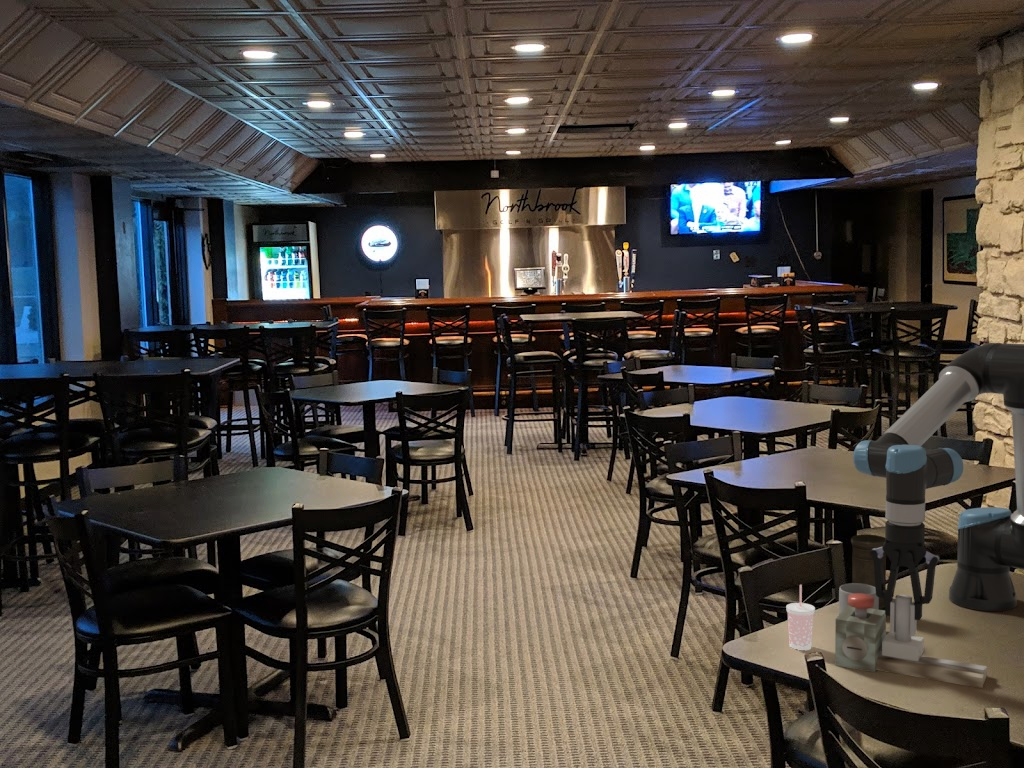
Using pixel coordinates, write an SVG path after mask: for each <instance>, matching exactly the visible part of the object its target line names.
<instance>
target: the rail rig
mask: <svg viewBox="0 0 1024 768" xmlns="http://www.w3.org/2000/svg"><path fill="white" fill-rule="evenodd" d="M886 623H887V617H886V614H885V610H878V609H871V608H868V609H867V619H866V618H860V617H855V608H854V607H851V606H849V605H847V606H846V607H845V609H844V610H843V611H842V612H841V613H840V614H839V613H838V616H837V617H835V629H834V630H835V638H834V642H835V643H834V653H835V654H834V657H835V659H834V665H835V666H837V667H843V668H849V669H855V670H860V671H865V672H872V673H876V671H881V672H882V671H883V672H886V673H892V674H893V673H894V674H897V675H903V674H904V676H909V677H916V678H921V679H928V680H933V681H938V682H944V683H948V684H949V683H951V684H957V685H960V686H961V685H962V686H967V687H974V688H977V689H978V688H979V689H983V687H984V685H985V681H986V679H987V677H988V666H987V665H981V664H975V663H969V662H962V661H957V660H951V659H944V658H938V657H933V656H926V655H921V657H920V659H919V660H918V661H913V660H907V659H901V658H895V657H889V656H883V655H882V641H883V639H884V638H885V636H886V635H887V633H886V631H887V628H886V626H887V624H886Z"/></svg>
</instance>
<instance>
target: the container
mask: <svg viewBox="0 0 1024 768" xmlns="http://www.w3.org/2000/svg"><path fill="white" fill-rule="evenodd" d="M850 543H851V547H852V548H851V549H852V554H851V557H852V560H851V564H852V565H851V573H852V574H851V580H852V581H851V583H859V584H867V585H871V586H874V587H875V574H874V561H873V559H872V557H871V555H870V552H871V550H872V549H873V548H879V547H883V544H884V543H885V536H881V535H876V534H856V535H853V536H851V538H850ZM887 558H888V557H887V555H886V554H885V552H883V557H882V564H883V578H884V591H886V589H887V585H886V584H887V583H886V581H887V574H886V573H887ZM879 610H885V600H884V599H883V598H881V597H879Z"/></svg>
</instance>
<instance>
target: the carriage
mask: <svg viewBox="0 0 1024 768" xmlns="http://www.w3.org/2000/svg"><path fill="white" fill-rule="evenodd" d="M894 599H895V633H894V634H893V633H890V631H889V632H887V633H886V636H885V638H884V639H883V641H882V655H883V656H889V657H895V658H901V659H907V660H913V661H918V660H919V659H920V657H921V656H923V653H924V645H925V644H924V643H925V642H924V637H922V636H914V637H913V636H910V606H911V604H912V602H913V596H911V595H908V594H897V595H895V597H894Z"/></svg>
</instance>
